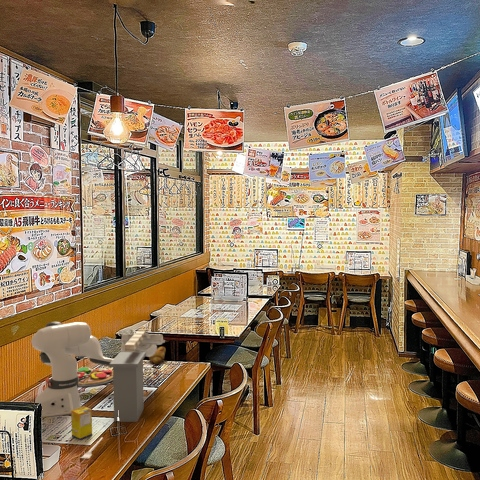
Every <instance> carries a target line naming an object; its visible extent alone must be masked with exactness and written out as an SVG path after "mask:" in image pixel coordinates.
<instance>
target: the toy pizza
mask: <svg viewBox="0 0 480 480" xmlns="http://www.w3.org/2000/svg"><path fill="white" fill-rule="evenodd" d="M77 376H78V379H79V385H78V388H79V387H80V388H81V387H82V388H84V387H85V388H86V387H88V388H89V387H96V386H100V385H101V386H102V385H105V384H108V383H111V382H113V369H108V368H105V367H104V368H103V367H99V368H90V367H88V366H83V367H79V368H77Z"/></svg>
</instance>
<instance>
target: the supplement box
mask: <svg viewBox="0 0 480 480" xmlns="http://www.w3.org/2000/svg"><path fill="white" fill-rule="evenodd" d="M70 416H71V420H70V421H71V436H72V438H74V439H76V440H78V441H82V440H83V439H84V440H85V439H87V438H89V437H92V436H93V417H92V416H93V414H92V409H91V408H90V407H86V406H84V405H83V406H81V407H80V408H77V409H74V410H71V414H70Z"/></svg>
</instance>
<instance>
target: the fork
mask: <svg viewBox="0 0 480 480" xmlns="http://www.w3.org/2000/svg"><path fill="white" fill-rule="evenodd" d="M102 440H104V437H102V436H101V438H99V440H98V441H96V442H95V444H94V445H93V446H92V447H91V448H90V449H89V450H88V451H86V452H85V453H84V454H83V455H82V456H81V457H80V456H79V457H78V458H79V459H86V460H87V459H90V458H91V456H92V455H93V454H92V453H93V451H94V450H95V449H96V448H97V446H98V445H99V444H100V442H101V441H102Z"/></svg>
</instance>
